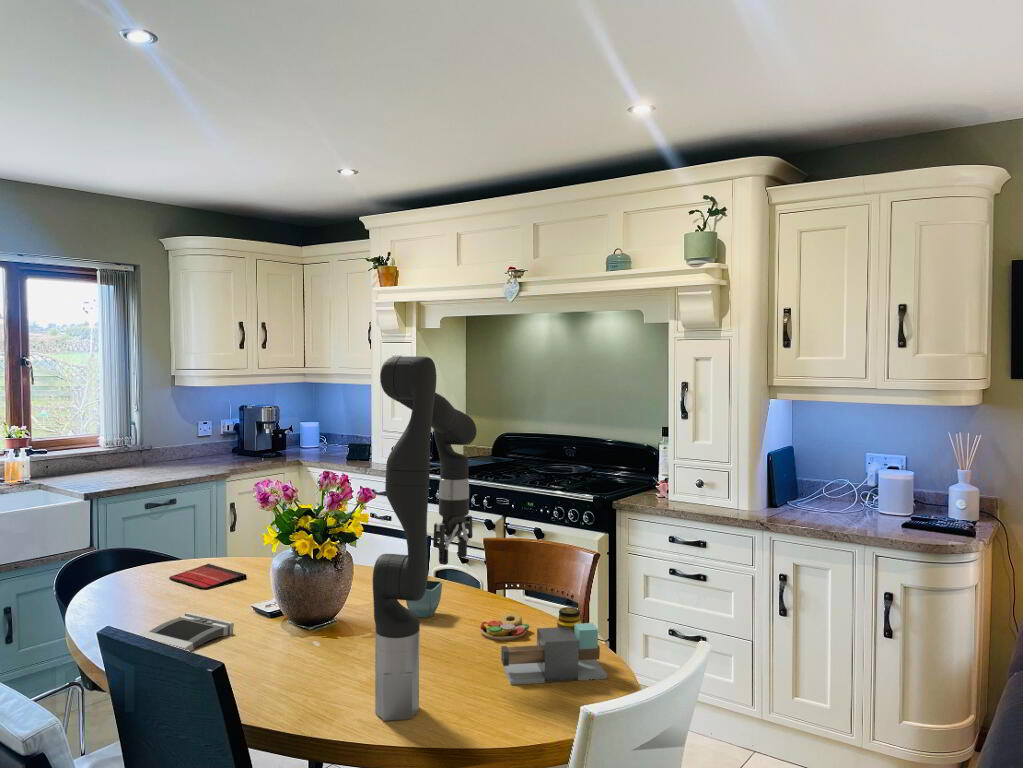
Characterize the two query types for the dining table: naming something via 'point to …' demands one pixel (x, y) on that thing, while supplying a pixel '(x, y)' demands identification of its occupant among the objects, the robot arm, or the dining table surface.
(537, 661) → the shaft
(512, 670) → the base plate
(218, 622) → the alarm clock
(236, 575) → the binder
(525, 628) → the toy food set
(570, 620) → the condiment
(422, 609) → the flower pot
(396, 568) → the robot arm
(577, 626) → the block
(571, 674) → the bearing block
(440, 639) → the dining table surface
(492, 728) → the dining table surface
